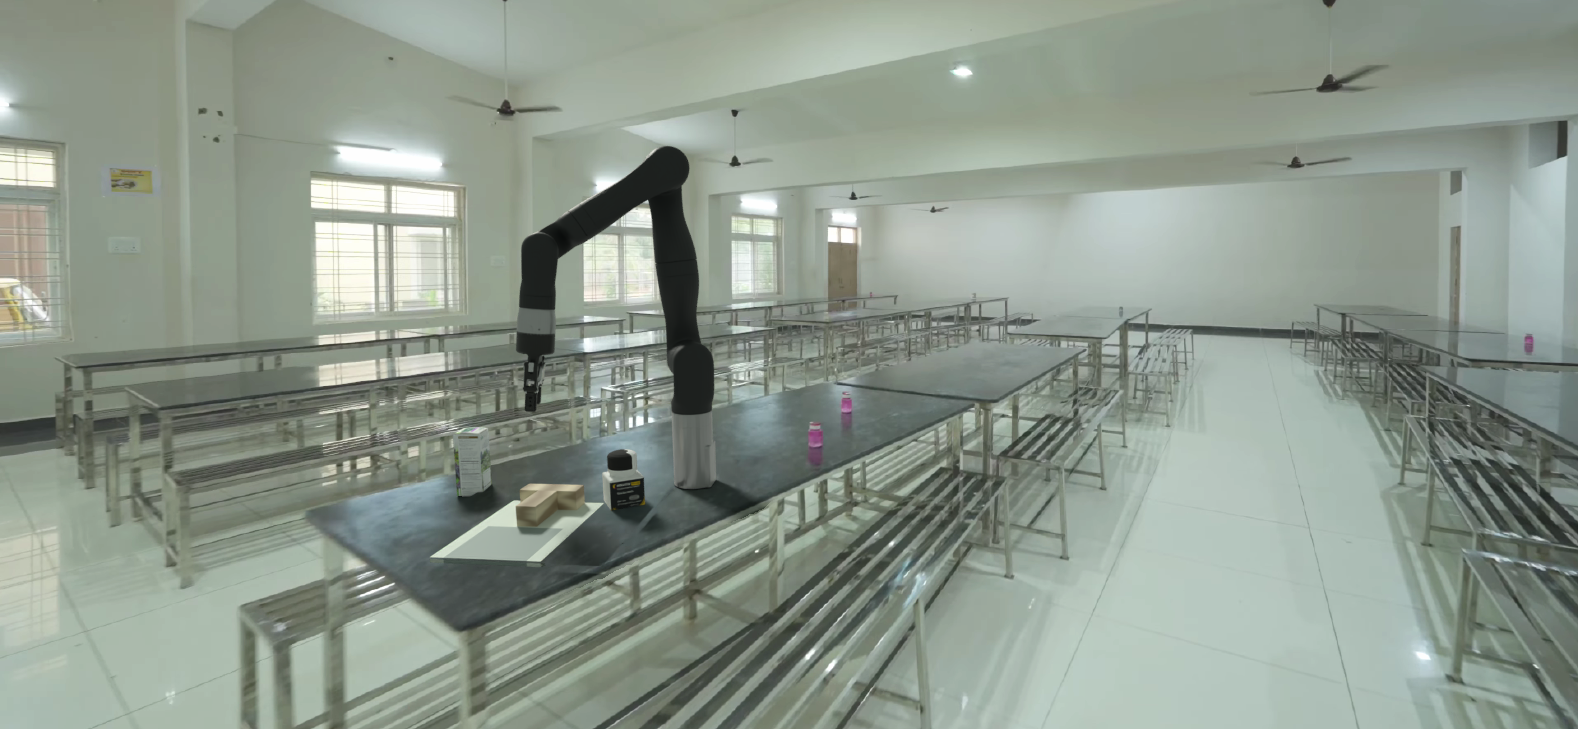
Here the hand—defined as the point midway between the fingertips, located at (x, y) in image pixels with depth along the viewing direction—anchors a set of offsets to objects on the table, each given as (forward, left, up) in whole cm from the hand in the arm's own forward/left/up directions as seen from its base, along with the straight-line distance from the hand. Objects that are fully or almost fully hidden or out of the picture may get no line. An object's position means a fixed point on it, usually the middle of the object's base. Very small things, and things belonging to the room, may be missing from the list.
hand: (532, 407), depth 139 cm
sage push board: (-5, +15, -21) cm, 26 cm away
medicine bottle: (-19, 0, -21) cm, 28 cm away
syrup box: (+18, -6, -21) cm, 29 cm away
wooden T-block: (-5, +8, -20) cm, 22 cm away
